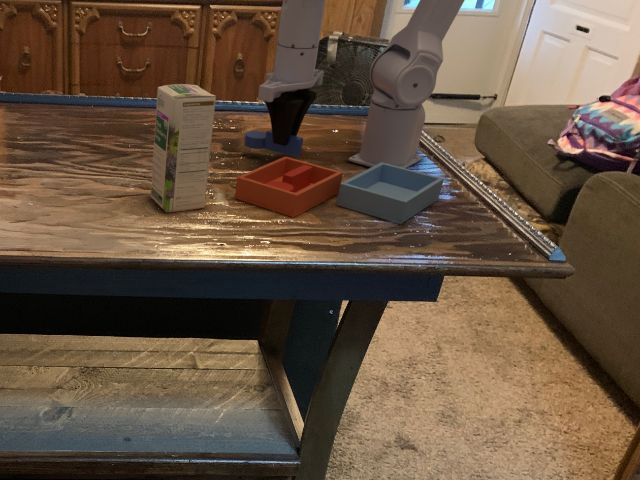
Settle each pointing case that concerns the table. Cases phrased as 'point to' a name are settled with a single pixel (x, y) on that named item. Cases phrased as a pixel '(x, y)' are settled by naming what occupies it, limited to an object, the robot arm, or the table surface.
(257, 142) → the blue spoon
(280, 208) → the red bin
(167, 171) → the syrup box
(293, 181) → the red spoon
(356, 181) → the blue bin
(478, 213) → the table surface
